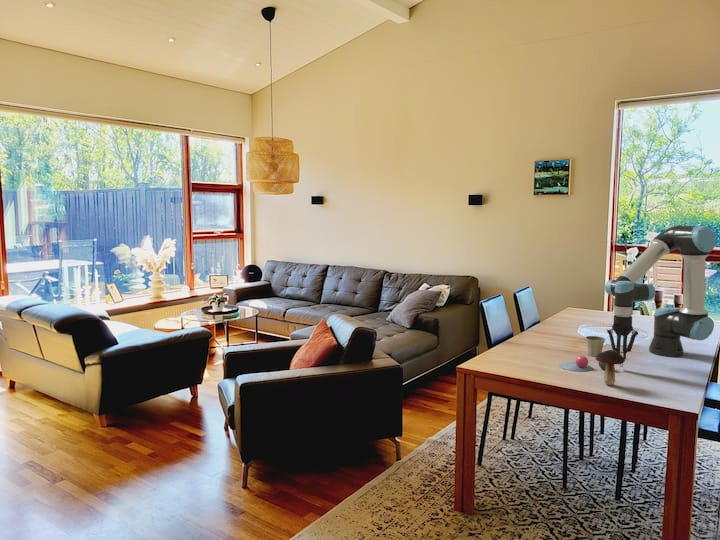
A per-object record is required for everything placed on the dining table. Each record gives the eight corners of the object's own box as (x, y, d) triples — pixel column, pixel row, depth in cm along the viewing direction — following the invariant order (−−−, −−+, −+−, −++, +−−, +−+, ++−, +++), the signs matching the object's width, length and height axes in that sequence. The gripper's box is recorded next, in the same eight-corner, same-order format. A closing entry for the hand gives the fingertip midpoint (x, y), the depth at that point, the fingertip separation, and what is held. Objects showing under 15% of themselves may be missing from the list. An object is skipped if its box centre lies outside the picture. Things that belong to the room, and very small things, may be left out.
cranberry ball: (587, 354, 247) (575, 354, 248) (589, 357, 241) (576, 357, 243) (587, 366, 247) (574, 365, 249) (588, 369, 242) (576, 368, 244)
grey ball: (597, 356, 245) (597, 367, 245) (599, 359, 239) (600, 371, 240) (610, 355, 243) (610, 367, 244) (612, 359, 238) (613, 371, 239)
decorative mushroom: (615, 391, 214) (616, 355, 212) (589, 384, 222) (591, 349, 221) (628, 385, 220) (630, 350, 218) (603, 379, 229) (605, 345, 227)
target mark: (590, 363, 251) (590, 363, 251) (593, 372, 237) (593, 372, 237) (558, 361, 255) (558, 361, 255) (560, 370, 241) (560, 369, 241)
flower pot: (603, 352, 269) (603, 336, 268) (606, 358, 260) (607, 340, 259) (583, 351, 271) (583, 335, 270) (585, 356, 262) (586, 339, 261)
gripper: (608, 316, 236) (606, 367, 239) (640, 317, 232) (638, 369, 235) (606, 313, 243) (603, 362, 246) (637, 314, 239) (634, 364, 242)
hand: (620, 366), depth 240 cm, fingers closed
